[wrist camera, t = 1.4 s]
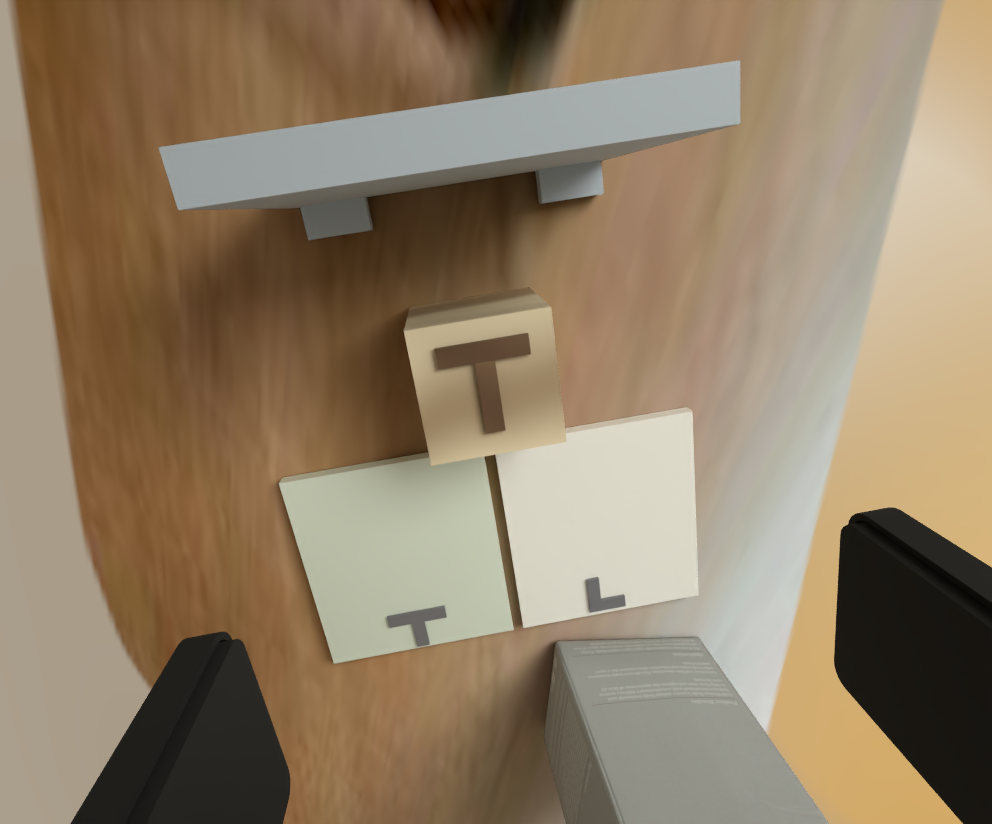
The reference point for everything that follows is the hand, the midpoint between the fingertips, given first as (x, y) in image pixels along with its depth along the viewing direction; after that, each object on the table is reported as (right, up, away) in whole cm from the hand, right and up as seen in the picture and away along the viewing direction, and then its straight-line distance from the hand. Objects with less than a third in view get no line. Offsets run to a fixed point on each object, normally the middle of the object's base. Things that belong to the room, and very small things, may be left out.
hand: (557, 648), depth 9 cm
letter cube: (-2, +6, +16) cm, 17 cm away
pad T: (-5, -3, +19) cm, 20 cm away
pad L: (+4, -2, +19) cm, 20 cm away
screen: (-3, +13, +13) cm, 19 cm away
